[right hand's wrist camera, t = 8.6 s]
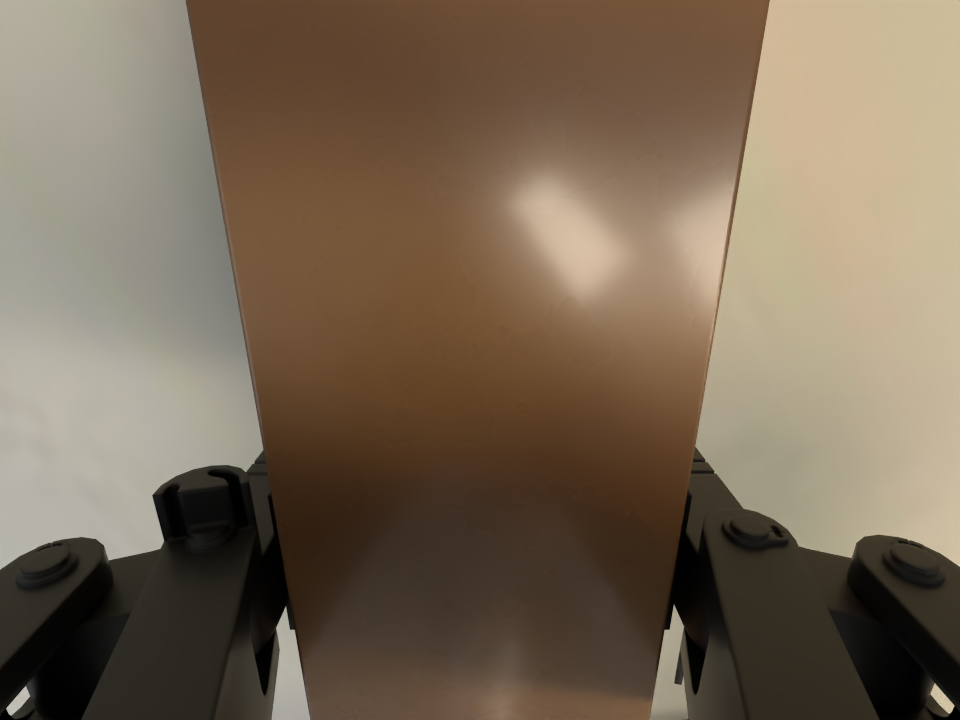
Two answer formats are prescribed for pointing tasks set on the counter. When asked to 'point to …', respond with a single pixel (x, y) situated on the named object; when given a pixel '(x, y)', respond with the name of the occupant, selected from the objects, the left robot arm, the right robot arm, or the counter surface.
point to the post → (478, 328)
